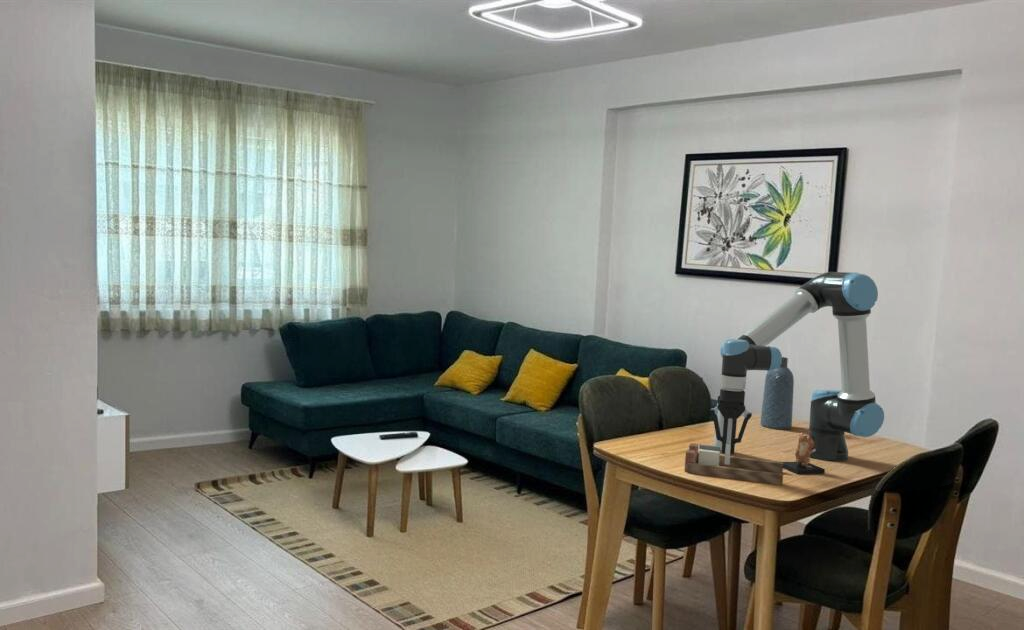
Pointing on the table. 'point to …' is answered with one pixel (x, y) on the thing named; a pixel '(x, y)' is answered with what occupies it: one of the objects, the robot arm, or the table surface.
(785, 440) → the table surface
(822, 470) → the figurine
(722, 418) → the travel mug
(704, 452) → the block
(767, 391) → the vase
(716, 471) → the guide
